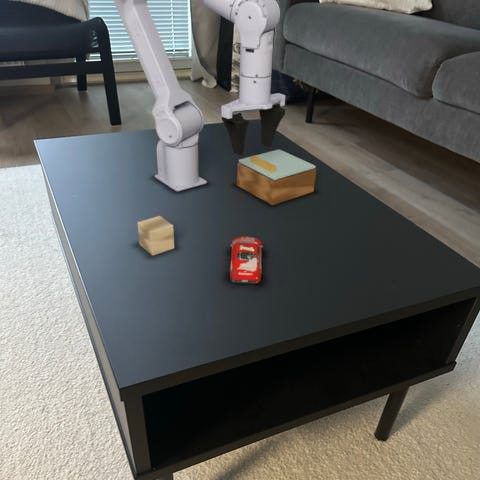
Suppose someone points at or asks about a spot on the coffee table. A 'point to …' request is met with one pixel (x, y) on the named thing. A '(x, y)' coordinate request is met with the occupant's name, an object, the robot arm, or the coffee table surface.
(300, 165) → the lid with orange handle
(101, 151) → the coffee table surface
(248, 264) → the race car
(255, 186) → the case
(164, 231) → the block
